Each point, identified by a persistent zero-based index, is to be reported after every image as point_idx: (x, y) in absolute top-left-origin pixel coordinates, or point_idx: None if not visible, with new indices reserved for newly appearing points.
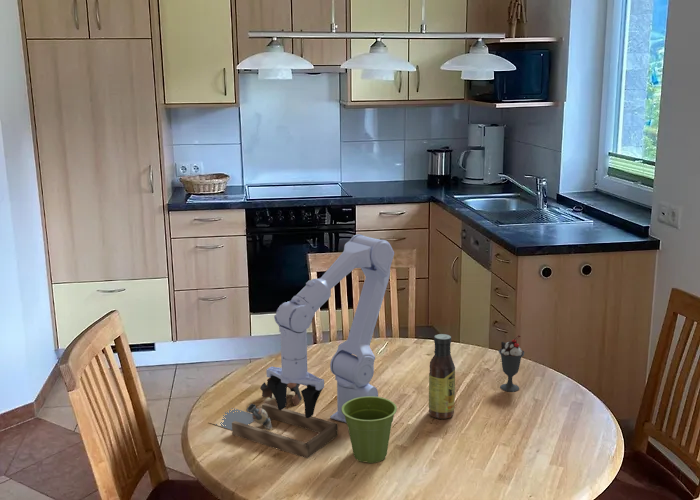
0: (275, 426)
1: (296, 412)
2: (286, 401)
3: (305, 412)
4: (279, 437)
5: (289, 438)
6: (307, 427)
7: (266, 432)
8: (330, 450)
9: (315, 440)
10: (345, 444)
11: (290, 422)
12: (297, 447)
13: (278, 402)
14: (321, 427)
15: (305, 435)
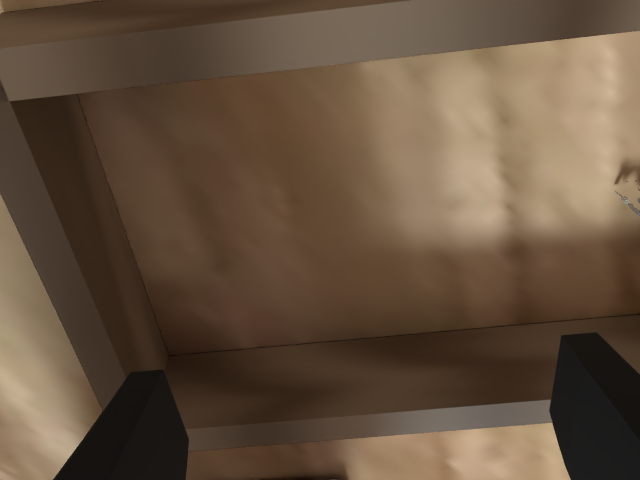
0: (624, 247)
1: (515, 421)
2: (571, 478)
3: (126, 422)
4: (336, 7)
5: (224, 63)
6: (376, 347)
7: (557, 2)
8: (3, 225)
9: (7, 197)
10: (11, 333)
11: (536, 334)
12: (91, 24)
13: (627, 413)
14: (248, 383)
15: (326, 275)
